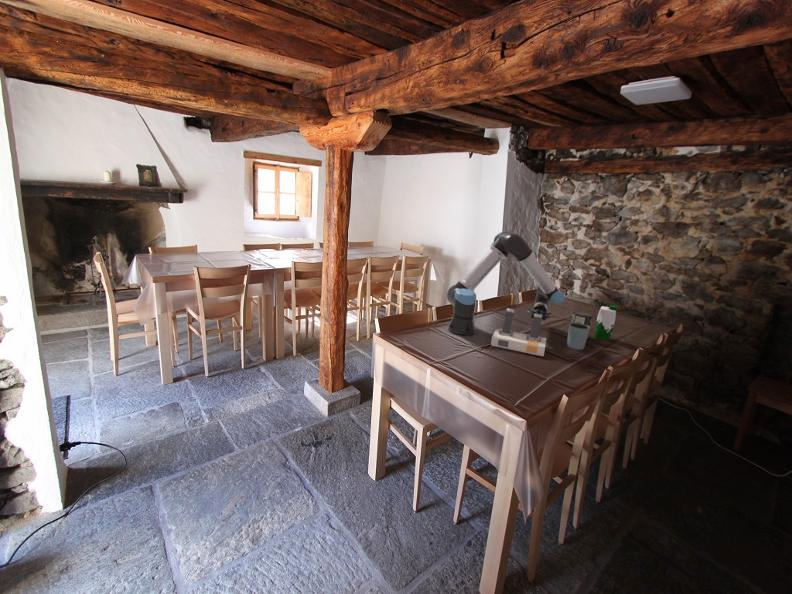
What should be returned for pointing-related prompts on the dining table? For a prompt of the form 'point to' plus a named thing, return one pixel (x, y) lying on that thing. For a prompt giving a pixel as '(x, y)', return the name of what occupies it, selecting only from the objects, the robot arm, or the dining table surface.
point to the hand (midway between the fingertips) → (537, 320)
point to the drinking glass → (577, 335)
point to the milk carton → (605, 322)
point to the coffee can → (582, 318)
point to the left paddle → (508, 320)
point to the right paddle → (536, 325)
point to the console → (519, 342)
